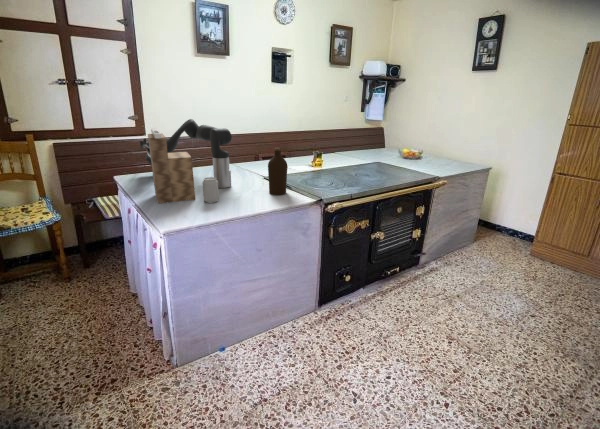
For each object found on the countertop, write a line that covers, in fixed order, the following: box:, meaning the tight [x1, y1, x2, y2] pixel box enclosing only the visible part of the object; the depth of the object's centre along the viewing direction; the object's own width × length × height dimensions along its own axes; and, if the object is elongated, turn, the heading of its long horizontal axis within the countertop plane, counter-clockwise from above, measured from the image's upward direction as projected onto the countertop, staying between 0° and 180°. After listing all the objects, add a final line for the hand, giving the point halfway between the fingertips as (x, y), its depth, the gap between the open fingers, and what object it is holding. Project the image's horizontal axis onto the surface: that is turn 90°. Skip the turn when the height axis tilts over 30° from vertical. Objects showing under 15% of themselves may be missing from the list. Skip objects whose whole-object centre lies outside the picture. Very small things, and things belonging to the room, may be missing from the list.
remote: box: [150, 127, 161, 138], centre depth 169 cm, size 3×26×2 cm, turn 26°
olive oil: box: [267, 147, 288, 196], centre depth 187 cm, size 11×11×25 cm
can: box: [202, 176, 220, 204], centre depth 173 cm, size 8×8×12 cm
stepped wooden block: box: [147, 132, 196, 204], centre depth 175 cm, size 18×16×32 cm
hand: (153, 139), depth 190 cm, fingers open, 8 cm apart
